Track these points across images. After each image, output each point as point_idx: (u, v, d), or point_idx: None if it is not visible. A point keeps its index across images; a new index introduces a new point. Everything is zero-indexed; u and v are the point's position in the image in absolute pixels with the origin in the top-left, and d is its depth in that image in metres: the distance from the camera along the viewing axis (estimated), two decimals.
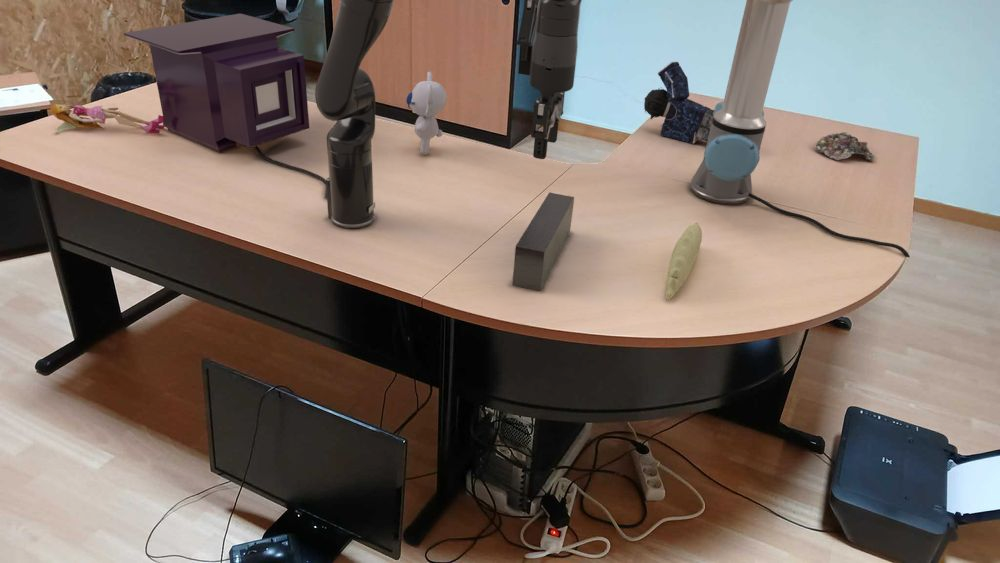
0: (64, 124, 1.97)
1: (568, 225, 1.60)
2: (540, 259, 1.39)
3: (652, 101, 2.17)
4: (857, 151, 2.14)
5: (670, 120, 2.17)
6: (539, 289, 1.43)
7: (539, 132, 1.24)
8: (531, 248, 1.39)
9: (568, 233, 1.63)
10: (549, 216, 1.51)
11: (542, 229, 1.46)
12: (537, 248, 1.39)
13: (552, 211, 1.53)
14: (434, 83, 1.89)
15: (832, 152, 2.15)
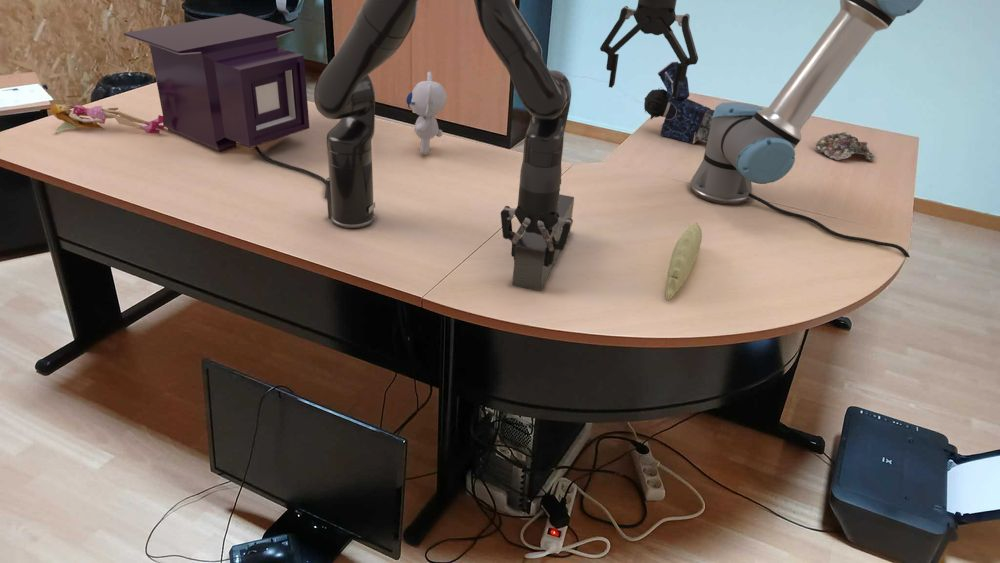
0: (64, 124, 1.97)
1: None
2: (540, 259, 1.39)
3: (652, 101, 2.17)
4: (857, 151, 2.14)
5: (670, 120, 2.17)
6: (539, 289, 1.43)
7: None
8: (531, 248, 1.39)
9: None
10: None
11: None
12: (537, 248, 1.39)
13: None
14: (434, 83, 1.89)
15: (832, 152, 2.15)
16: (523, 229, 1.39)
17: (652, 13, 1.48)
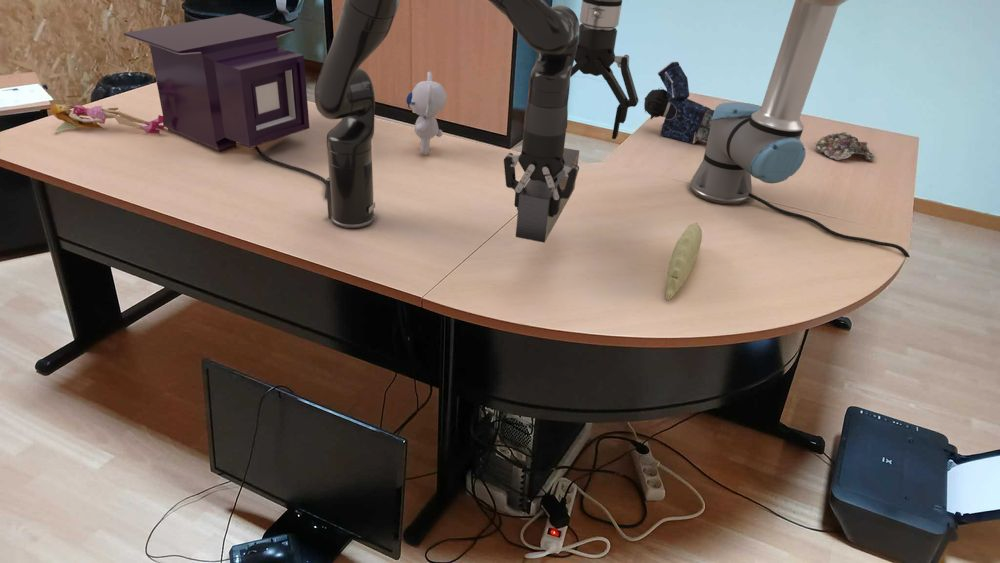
0: (64, 124, 1.97)
1: None
2: (545, 208, 1.34)
3: (652, 101, 2.17)
4: (857, 151, 2.14)
5: (670, 120, 2.17)
6: (543, 241, 1.37)
7: None
8: (535, 196, 1.34)
9: (573, 189, 1.57)
10: None
11: None
12: (542, 196, 1.34)
13: None
14: (434, 83, 1.89)
15: (832, 152, 2.15)
16: (527, 176, 1.33)
17: (591, 53, 1.43)
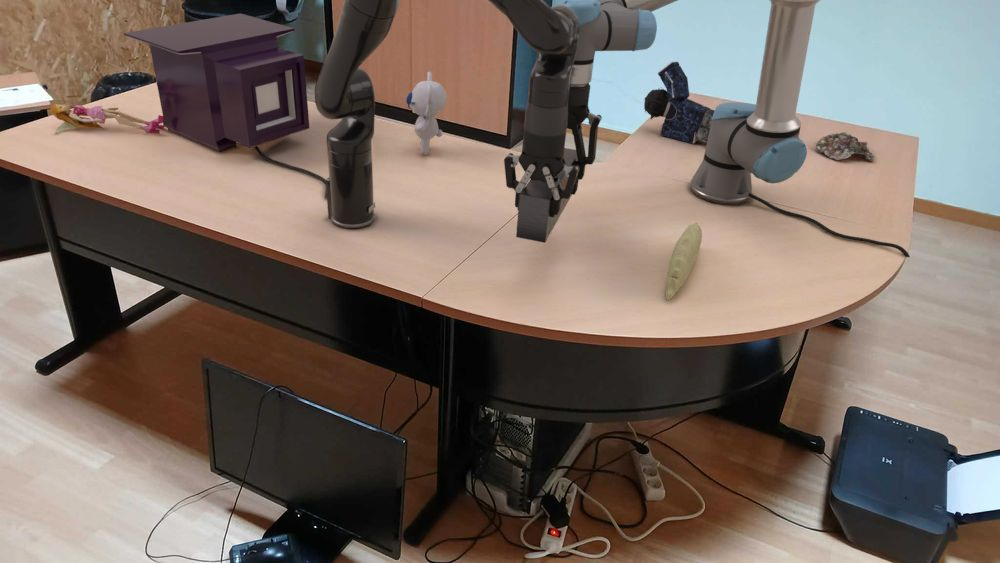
0: (64, 124, 1.97)
1: None
2: (545, 208, 1.34)
3: (652, 101, 2.17)
4: (857, 151, 2.14)
5: (670, 120, 2.17)
6: (544, 241, 1.37)
7: None
8: (535, 196, 1.34)
9: None
10: None
11: None
12: (542, 196, 1.34)
13: None
14: (434, 83, 1.89)
15: (832, 152, 2.15)
16: (527, 177, 1.33)
17: None
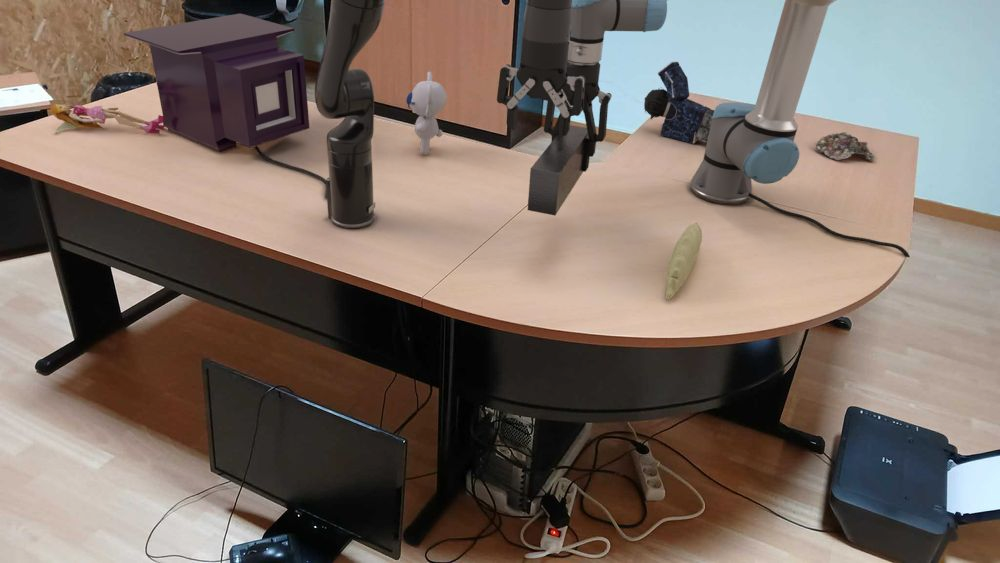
0: (64, 124, 1.97)
1: None
2: (555, 181, 1.39)
3: (652, 101, 2.17)
4: (857, 151, 2.14)
5: (670, 120, 2.17)
6: (554, 213, 1.42)
7: None
8: (546, 170, 1.39)
9: None
10: (565, 144, 1.50)
11: (558, 155, 1.45)
12: (552, 170, 1.39)
13: (568, 140, 1.52)
14: (434, 83, 1.89)
15: (832, 152, 2.15)
16: None
17: None
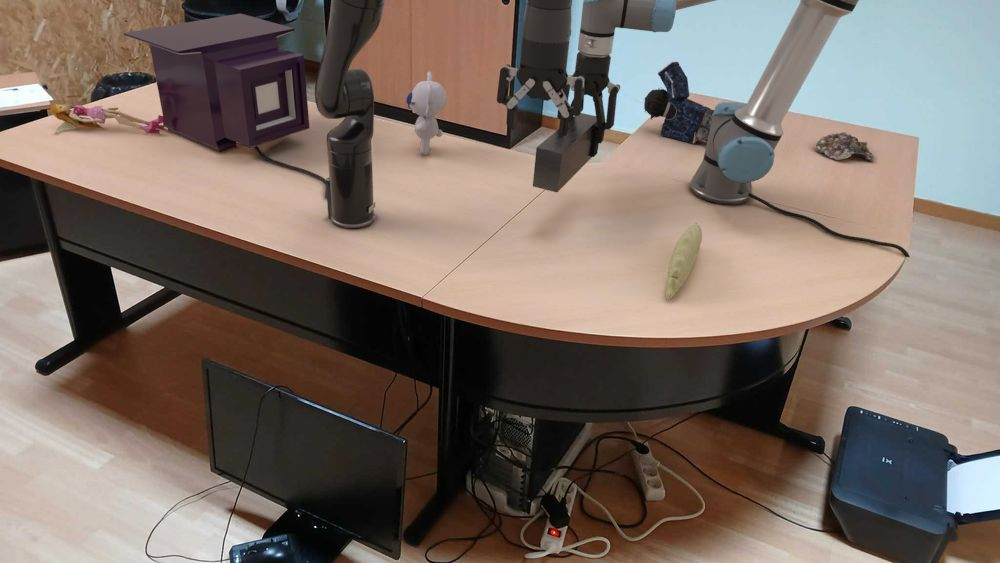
0: (64, 124, 1.97)
1: None
2: (558, 160, 1.52)
3: (652, 101, 2.17)
4: (857, 151, 2.14)
5: (670, 120, 2.17)
6: (556, 190, 1.55)
7: None
8: (550, 149, 1.52)
9: None
10: (573, 129, 1.63)
11: (565, 137, 1.58)
12: (556, 150, 1.51)
13: (577, 125, 1.65)
14: (434, 83, 1.89)
15: (832, 152, 2.15)
16: None
17: (587, 77, 1.64)
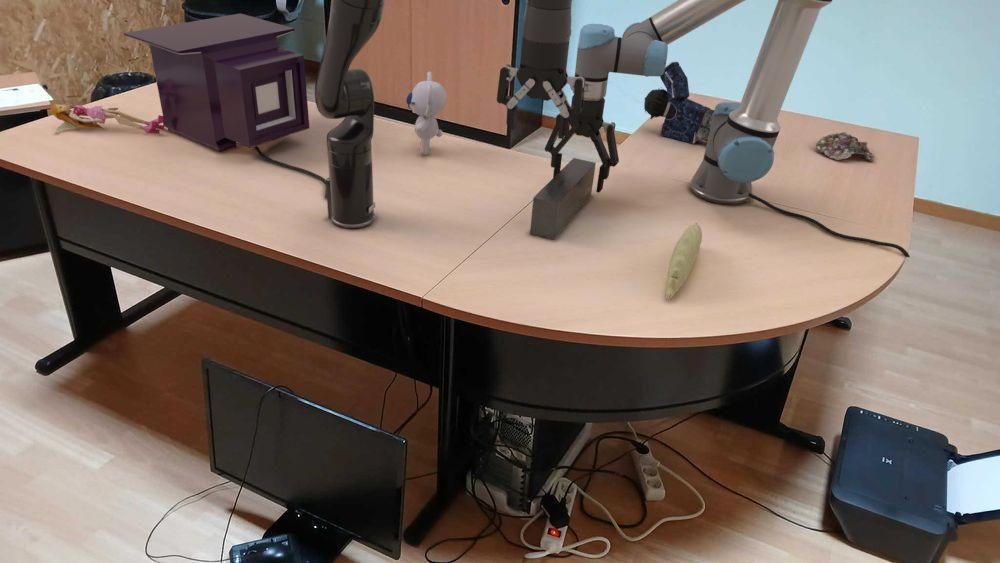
0: (64, 124, 1.97)
1: (588, 188, 1.78)
2: (554, 210, 1.58)
3: (652, 101, 2.17)
4: (857, 151, 2.14)
5: (670, 120, 2.17)
6: (553, 238, 1.61)
7: None
8: (546, 200, 1.58)
9: (589, 196, 1.80)
10: (569, 176, 1.69)
11: (560, 186, 1.64)
12: (552, 200, 1.58)
13: (573, 172, 1.71)
14: (434, 83, 1.89)
15: (832, 152, 2.15)
16: None
17: (582, 119, 1.69)
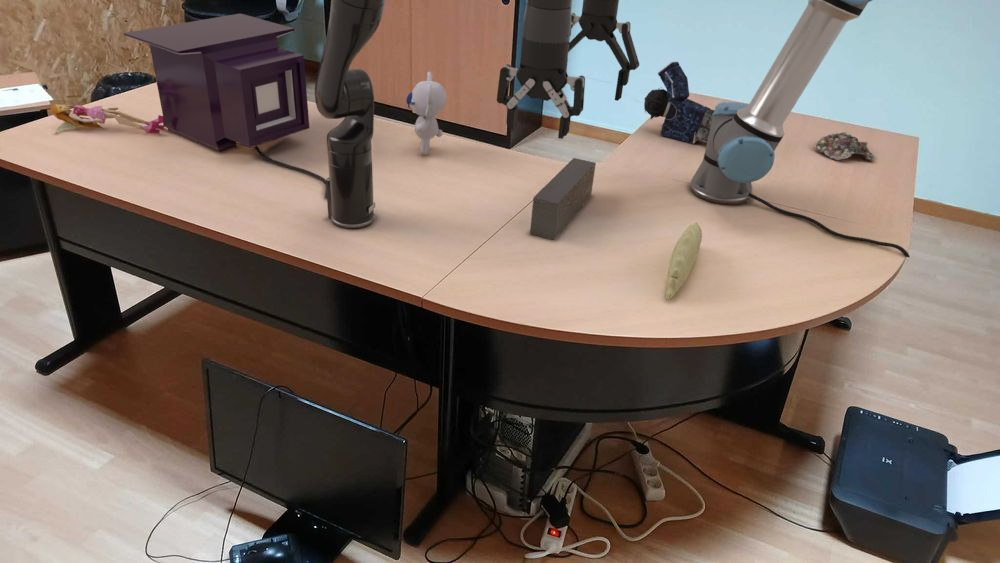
0: (64, 124, 1.97)
1: (588, 188, 1.78)
2: (554, 210, 1.58)
3: (652, 101, 2.17)
4: (857, 151, 2.14)
5: (670, 120, 2.17)
6: (553, 238, 1.61)
7: None
8: (546, 200, 1.58)
9: (589, 196, 1.80)
10: (569, 176, 1.69)
11: (560, 186, 1.64)
12: (552, 200, 1.58)
13: (573, 172, 1.71)
14: (434, 83, 1.89)
15: (832, 152, 2.15)
16: None
17: (595, 20, 1.57)
